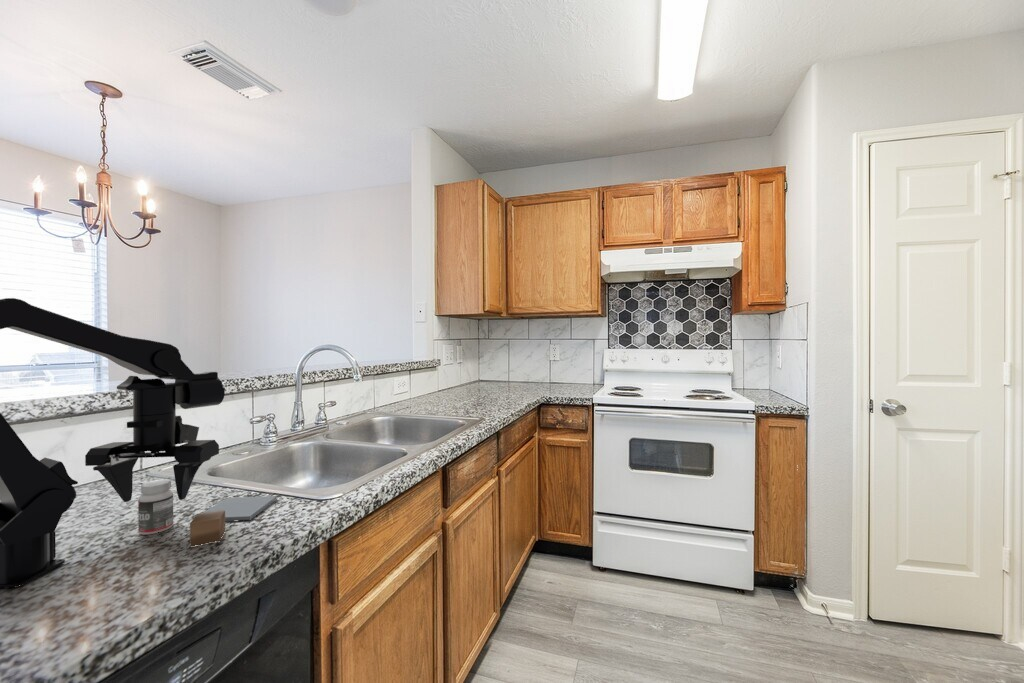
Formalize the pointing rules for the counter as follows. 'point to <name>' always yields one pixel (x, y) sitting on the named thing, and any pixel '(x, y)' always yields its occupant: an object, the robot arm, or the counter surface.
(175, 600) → the counter surface
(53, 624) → the counter surface
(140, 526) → the pill bottle
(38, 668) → the counter surface
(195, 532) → the walnut block
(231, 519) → the coaster
